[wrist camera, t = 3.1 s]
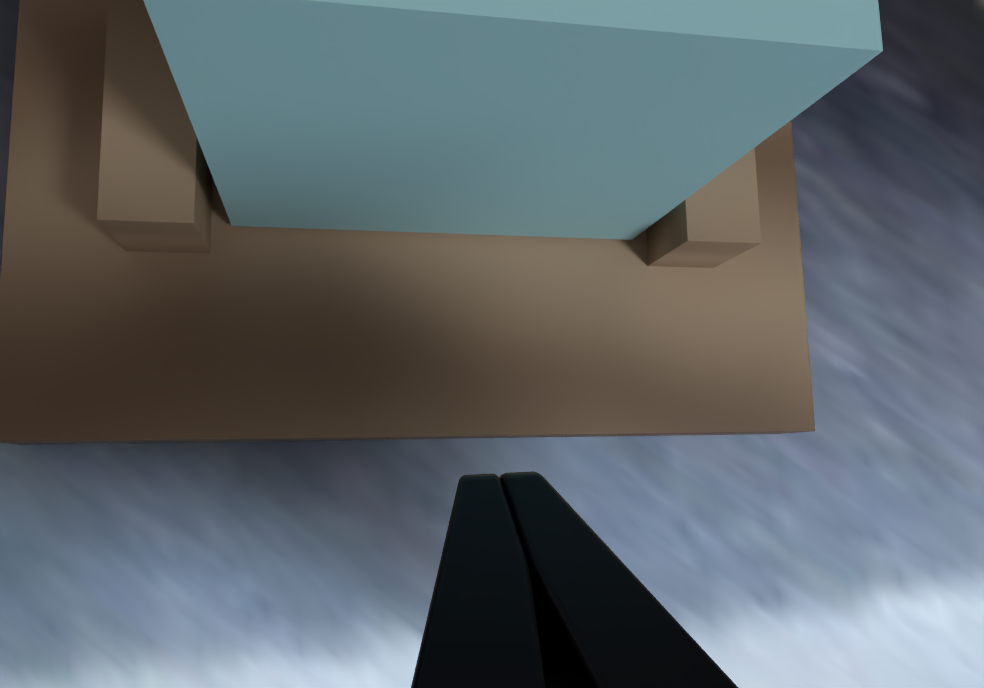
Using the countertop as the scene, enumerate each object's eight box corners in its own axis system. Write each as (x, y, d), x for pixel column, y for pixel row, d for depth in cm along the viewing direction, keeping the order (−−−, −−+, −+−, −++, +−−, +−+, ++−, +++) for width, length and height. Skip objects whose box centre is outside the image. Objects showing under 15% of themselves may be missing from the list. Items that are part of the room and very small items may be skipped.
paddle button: (631, 239, 17) (882, 50, 9) (231, 225, 16) (137, -15, 8) (625, 103, 18) (859, -185, 10) (235, 76, 16) (150, -291, 8)
